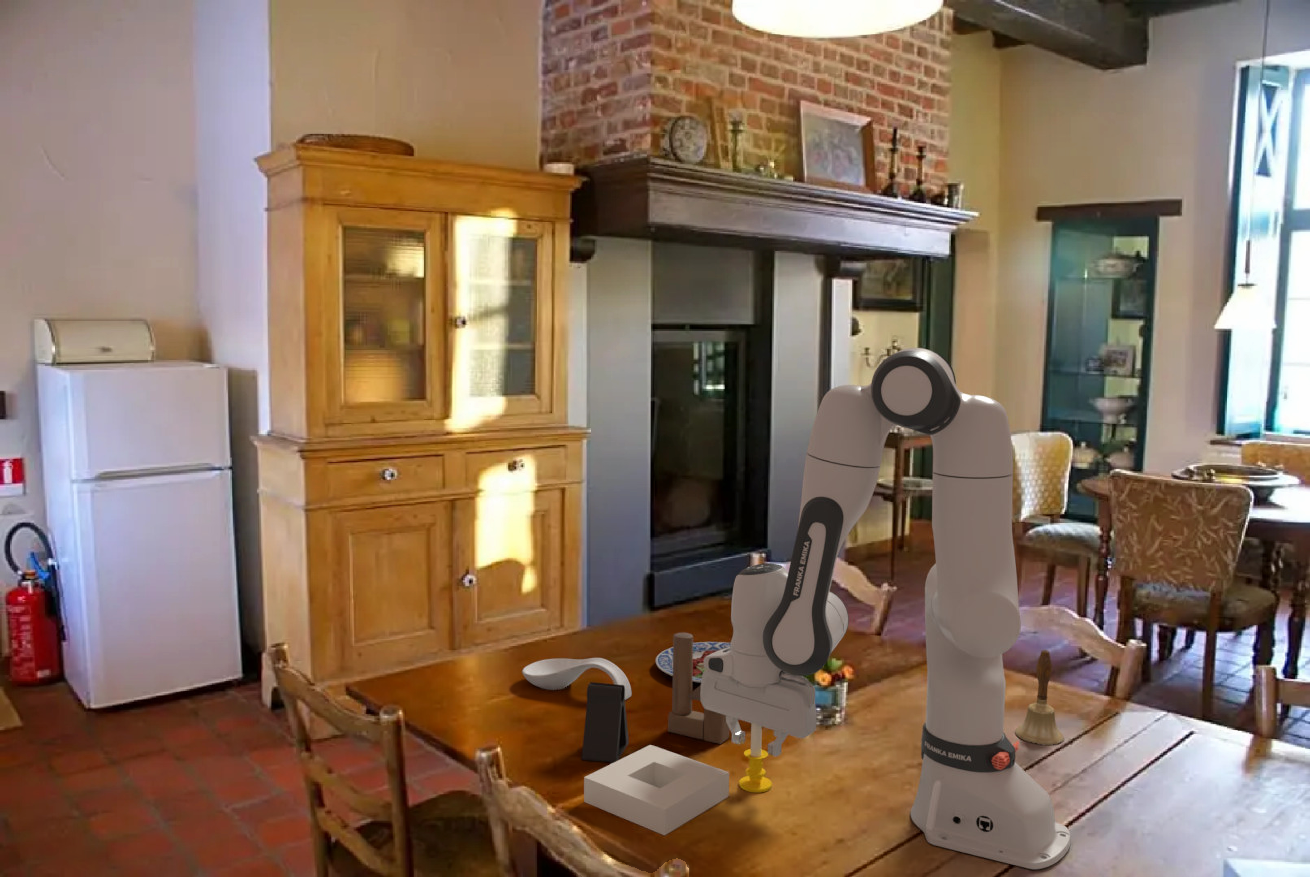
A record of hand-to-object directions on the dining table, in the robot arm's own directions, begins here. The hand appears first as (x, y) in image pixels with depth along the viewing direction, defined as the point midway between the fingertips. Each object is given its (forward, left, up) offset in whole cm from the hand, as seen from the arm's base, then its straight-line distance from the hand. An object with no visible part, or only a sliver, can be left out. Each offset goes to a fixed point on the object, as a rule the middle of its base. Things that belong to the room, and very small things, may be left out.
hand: (756, 748), depth 165 cm
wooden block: (+19, -10, -6) cm, 22 cm away
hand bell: (-28, -50, -6) cm, 58 cm away
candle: (0, 0, -6) cm, 6 cm away
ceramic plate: (+37, -40, -7) cm, 55 cm away
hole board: (+9, +14, -6) cm, 18 cm away
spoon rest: (+51, -12, -7) cm, 53 cm away
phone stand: (+27, +6, -6) cm, 28 cm away
